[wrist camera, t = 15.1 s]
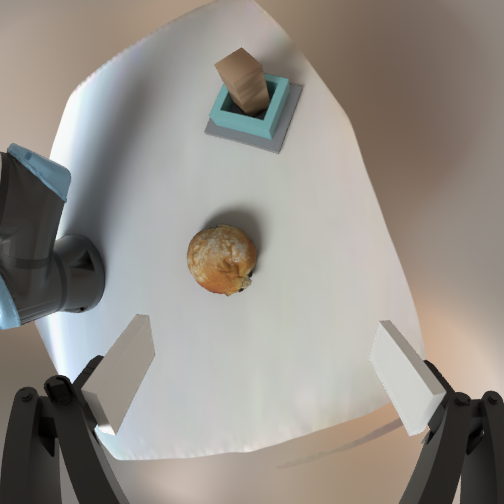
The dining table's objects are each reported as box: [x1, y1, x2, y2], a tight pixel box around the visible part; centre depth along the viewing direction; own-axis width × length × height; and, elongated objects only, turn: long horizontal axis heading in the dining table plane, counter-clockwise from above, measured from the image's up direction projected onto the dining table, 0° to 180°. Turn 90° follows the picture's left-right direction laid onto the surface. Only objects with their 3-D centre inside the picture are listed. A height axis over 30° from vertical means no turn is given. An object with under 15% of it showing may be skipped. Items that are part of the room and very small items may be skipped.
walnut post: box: [215, 47, 270, 118], centre depth 32 cm, size 4×4×12 cm
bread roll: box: [187, 224, 257, 296], centre depth 39 cm, size 10×10×8 cm
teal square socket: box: [204, 73, 302, 154], centre depth 36 cm, size 12×12×5 cm
